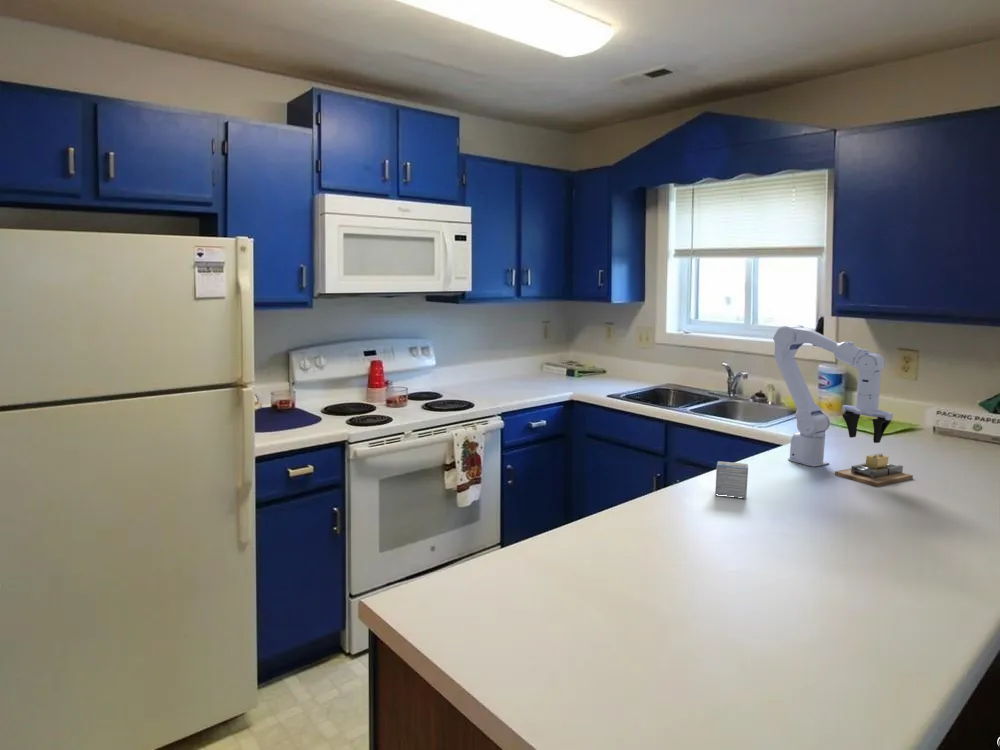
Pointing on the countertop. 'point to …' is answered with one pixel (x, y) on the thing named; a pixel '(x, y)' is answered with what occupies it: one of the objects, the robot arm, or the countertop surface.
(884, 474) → the chain end
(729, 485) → the medicine box
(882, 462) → the brass block with studs
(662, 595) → the countertop surface
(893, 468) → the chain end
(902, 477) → the chain board
